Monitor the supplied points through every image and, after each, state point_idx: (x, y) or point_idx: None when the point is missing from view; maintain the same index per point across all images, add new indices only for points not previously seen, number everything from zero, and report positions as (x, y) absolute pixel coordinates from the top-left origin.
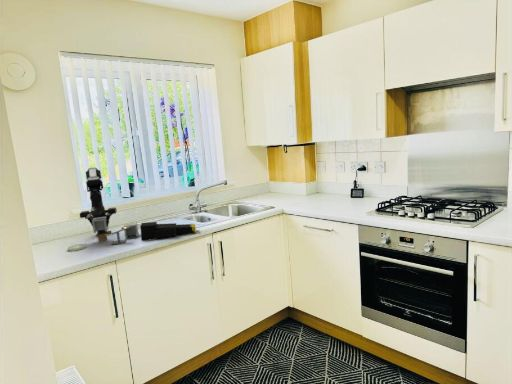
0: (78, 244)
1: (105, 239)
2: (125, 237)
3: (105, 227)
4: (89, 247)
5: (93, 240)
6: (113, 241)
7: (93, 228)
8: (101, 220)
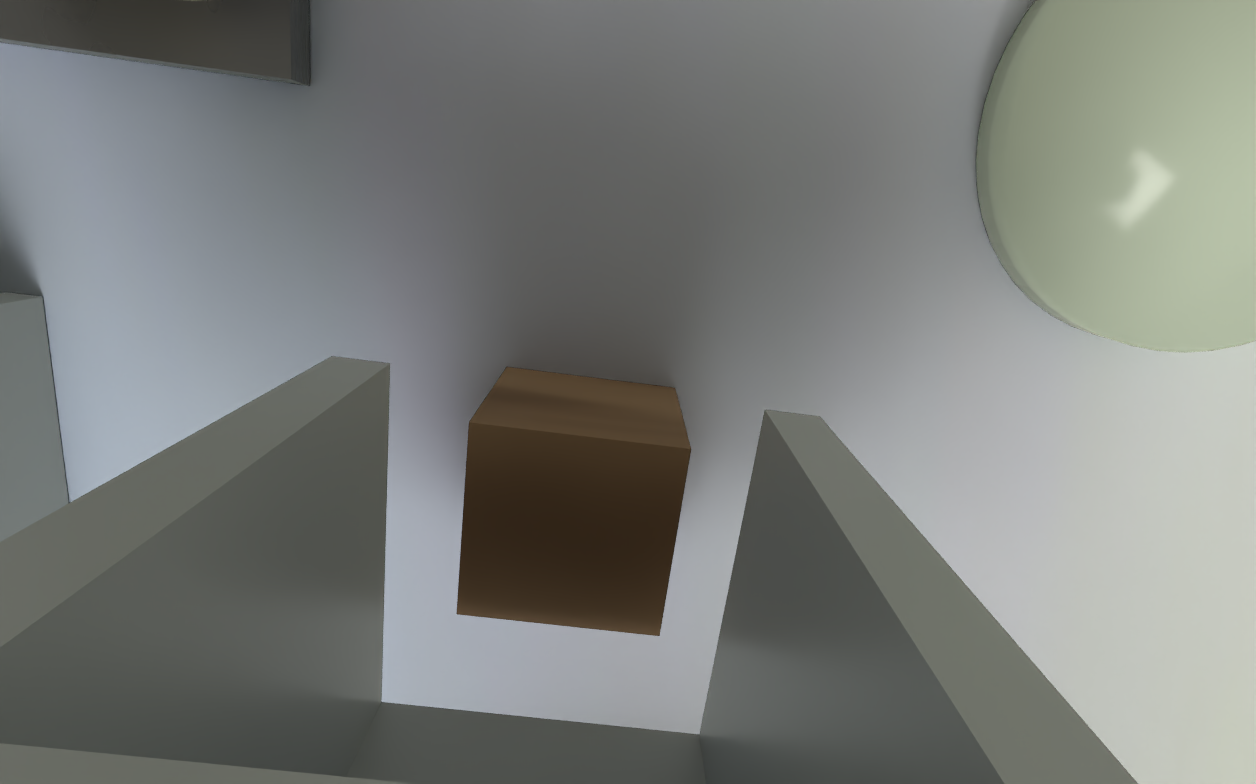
0: (1157, 324)
1: (506, 380)
2: (8, 299)
3: (280, 416)
4: (898, 21)
5: None
6: (274, 52)
7: (875, 497)
8: (140, 777)
